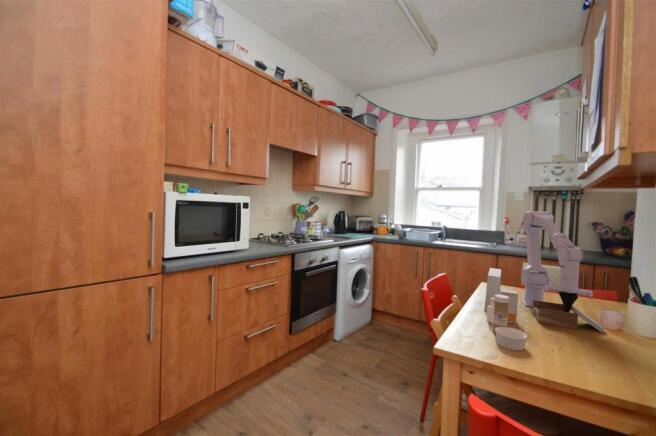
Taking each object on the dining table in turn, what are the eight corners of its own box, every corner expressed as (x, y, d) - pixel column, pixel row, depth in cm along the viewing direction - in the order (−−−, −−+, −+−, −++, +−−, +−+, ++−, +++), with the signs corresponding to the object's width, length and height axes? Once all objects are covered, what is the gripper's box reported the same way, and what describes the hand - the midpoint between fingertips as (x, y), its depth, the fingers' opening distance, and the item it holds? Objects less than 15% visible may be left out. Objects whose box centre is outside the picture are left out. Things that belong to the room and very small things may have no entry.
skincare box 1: (498, 314, 124) (500, 276, 123) (484, 311, 126) (486, 275, 126) (499, 301, 142) (501, 268, 141) (487, 298, 144) (488, 267, 144)
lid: (566, 305, 119) (568, 302, 119) (591, 323, 116) (593, 320, 116) (574, 313, 110) (577, 310, 110) (601, 332, 107) (604, 329, 107)
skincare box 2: (498, 321, 115) (500, 291, 115) (498, 317, 119) (499, 288, 119) (516, 324, 113) (518, 293, 112) (515, 320, 116) (517, 291, 116)
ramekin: (532, 348, 93) (532, 335, 93) (517, 354, 89) (517, 340, 89) (503, 337, 101) (504, 324, 101) (488, 342, 97) (489, 329, 96)
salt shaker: (493, 320, 116) (494, 296, 116) (502, 324, 112) (503, 300, 112) (485, 321, 115) (487, 297, 114) (494, 325, 111) (495, 300, 111)
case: (532, 313, 125) (532, 300, 125) (566, 318, 120) (567, 304, 120) (538, 323, 114) (539, 308, 114) (577, 329, 109) (578, 314, 109)
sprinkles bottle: (493, 334, 103) (495, 296, 102) (492, 329, 107) (493, 293, 106) (508, 336, 101) (510, 298, 100) (506, 331, 105) (508, 295, 105)
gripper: (549, 277, 114) (547, 311, 115) (596, 282, 108) (594, 318, 109) (544, 273, 121) (542, 306, 121) (589, 278, 115) (587, 312, 115)
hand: (566, 311), depth 115 cm, fingers closed
